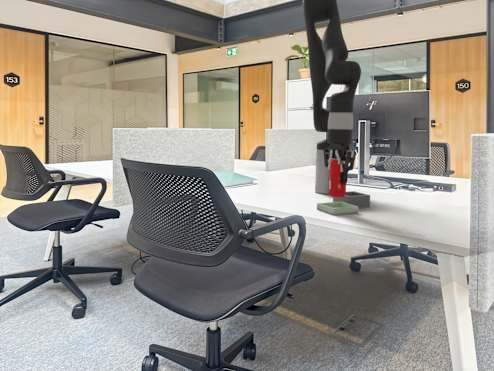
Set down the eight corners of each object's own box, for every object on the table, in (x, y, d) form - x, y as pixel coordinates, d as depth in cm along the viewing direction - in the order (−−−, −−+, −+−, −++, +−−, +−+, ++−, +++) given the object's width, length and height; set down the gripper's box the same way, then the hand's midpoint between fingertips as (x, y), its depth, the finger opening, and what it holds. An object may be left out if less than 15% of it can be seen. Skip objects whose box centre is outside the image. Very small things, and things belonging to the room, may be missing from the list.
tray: (340, 207, 136) (340, 201, 136) (358, 212, 128) (358, 206, 127) (316, 209, 132) (316, 203, 132) (333, 215, 124) (333, 208, 124)
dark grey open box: (353, 202, 145) (353, 191, 144) (369, 207, 137) (370, 195, 137) (332, 204, 142) (333, 192, 141) (348, 208, 134) (349, 196, 133)
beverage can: (335, 194, 133) (337, 157, 131) (348, 196, 129) (350, 158, 127) (325, 196, 130) (326, 158, 128) (338, 198, 126) (340, 159, 124)
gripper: (365, 128, 121) (362, 185, 124) (336, 127, 134) (334, 179, 137) (344, 128, 118) (341, 186, 121) (316, 127, 131) (314, 180, 134)
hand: (337, 182), depth 129 cm, fingers closed on beverage can, 5 cm apart
